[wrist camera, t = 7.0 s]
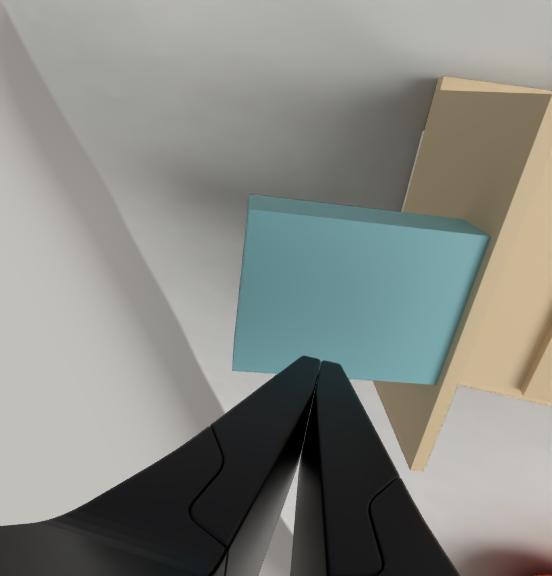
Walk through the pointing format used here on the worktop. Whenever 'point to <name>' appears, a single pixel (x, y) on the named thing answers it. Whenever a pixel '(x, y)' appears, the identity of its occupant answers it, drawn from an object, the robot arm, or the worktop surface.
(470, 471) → the worktop surface
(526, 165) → the flap
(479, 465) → the worktop surface
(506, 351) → the carton
